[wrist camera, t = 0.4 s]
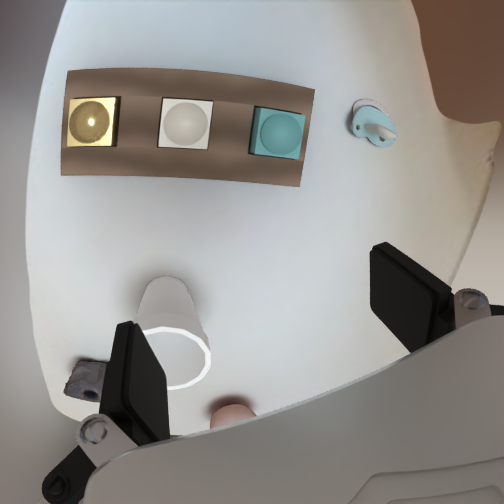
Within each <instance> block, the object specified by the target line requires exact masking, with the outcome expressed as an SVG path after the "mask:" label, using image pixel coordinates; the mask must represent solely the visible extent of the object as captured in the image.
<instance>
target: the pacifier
mask: <svg viewBox="0 0 504 504" xmlns="http://www.w3.org/2000/svg"><path fill="white" fill-rule="evenodd" d="M364 105H370V106H372V107H370V106H364ZM362 106H364V107H362ZM373 107H374V108H373ZM353 114H354V117H353V120H352V131H353V133H354V134H355V135H356V136H357V137H359V138H364V137H368V139H369V140H370V141H371V142H372V143H373V144H375V145H377V146H380V147H387V146H390V145H391V144H393V143H394V141H395V139H396V137H397V134H396V130H395V126H394V124H393V122H392V121H391V120H390V118H389V115H388V113H387V111H386V110H385V108H383V107H382V106H381V105H380V104H379V103H377V102H375V101H373V100H369V99H361V100H359V101H357V102H356V103H355V104H354V106H353ZM356 126H358V128H359V129H358V130H357V129H356ZM379 137H381V138H383V139H384V141H382V142H381V141H380V139H379Z"/></svg>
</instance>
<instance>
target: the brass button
mask: <svg viewBox="0 0 504 504" xmlns="http://www.w3.org/2000/svg"><path fill="white" fill-rule="evenodd" d="M119 108H120V99H118V98H88V99H70V107H69V119H68V135H67V146H111V145H114V144H116V143H117V129H118V118H119Z"/></svg>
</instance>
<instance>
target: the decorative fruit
mask: <svg viewBox="0 0 504 504" xmlns="http://www.w3.org/2000/svg"><path fill="white" fill-rule="evenodd" d="M253 417H256V414H255V413H254V412H253V411H252V410H251V409H249V408H248V407H246V406H244V405H240V404H233V405H228V406H225V407H222V408H220V409H218V410H217V411H216V412H215V413H214V415H213V416H212V419H211V422H210V429H213V428H217V427H221V426H224V425H228V424H232V423H235V422H239V421H242V420H246V419H249V418H253Z"/></svg>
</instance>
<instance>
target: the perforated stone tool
mask: <svg viewBox="0 0 504 504" xmlns="http://www.w3.org/2000/svg"><path fill="white" fill-rule="evenodd" d="M106 365H107V364H106V363H101V362H93V361H92V362H86V361H79V362H78V363H77V364H76V365H75V367H74V369H73V371H72V375H71V376H70V378H69V380H68V382H67V383H66V386H65V389H64V394H66V395H67V396H70V397H73V398H77V399H81V400H86V401H91V402H100V401H101V394H102V387H103V381H104V375H105V369H106Z"/></svg>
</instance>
